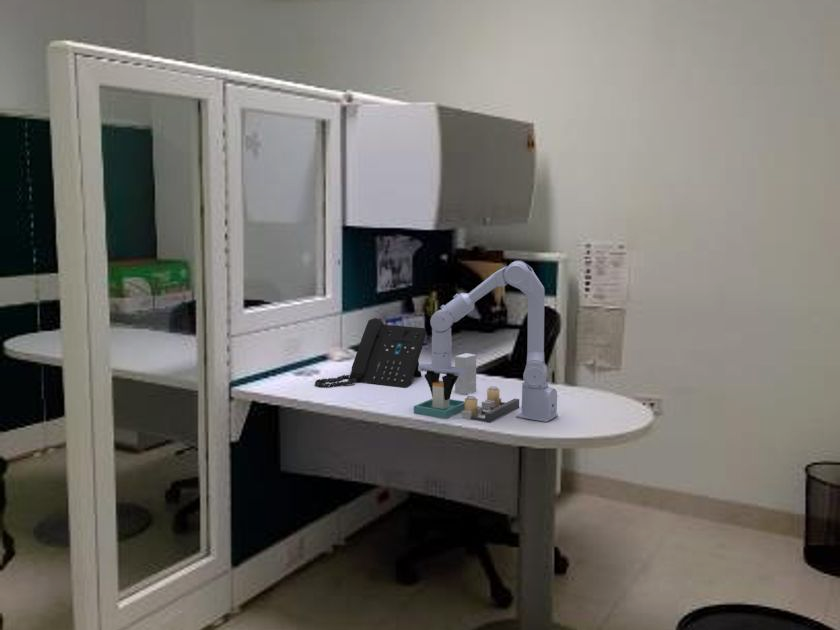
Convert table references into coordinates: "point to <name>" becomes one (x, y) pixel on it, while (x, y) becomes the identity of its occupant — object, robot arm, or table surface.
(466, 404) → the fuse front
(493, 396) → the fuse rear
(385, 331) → the office phone
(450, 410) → the tray
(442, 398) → the block
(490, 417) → the holder block
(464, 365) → the skincare box
